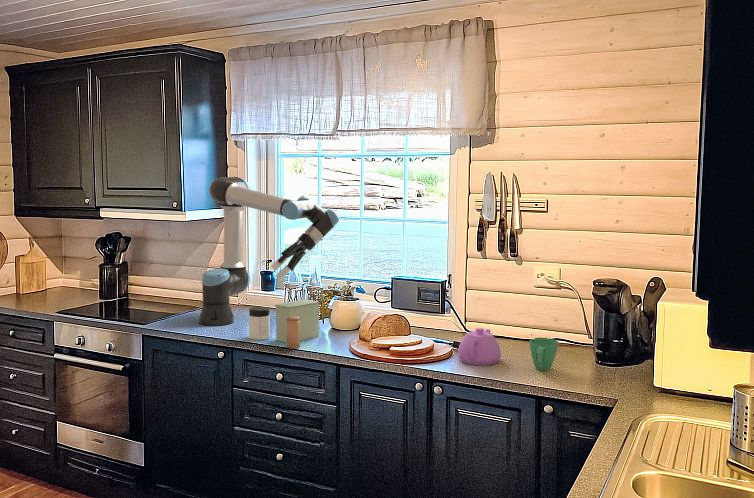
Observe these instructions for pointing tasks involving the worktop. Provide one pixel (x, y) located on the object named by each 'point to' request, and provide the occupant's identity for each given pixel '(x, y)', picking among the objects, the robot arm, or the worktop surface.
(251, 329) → the jar
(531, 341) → the mug
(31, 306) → the worktop surface
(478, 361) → the teapot
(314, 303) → the green tin
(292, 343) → the rust tin
